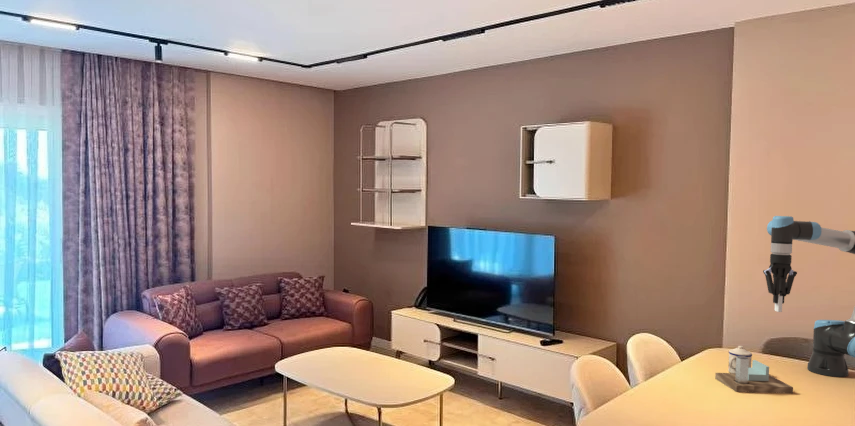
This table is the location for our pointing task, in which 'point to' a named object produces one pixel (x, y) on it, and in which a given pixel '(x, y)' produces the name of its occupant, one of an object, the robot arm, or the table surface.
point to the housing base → (754, 384)
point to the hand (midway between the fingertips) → (778, 311)
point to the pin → (742, 370)
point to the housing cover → (758, 372)
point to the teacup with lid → (735, 353)
